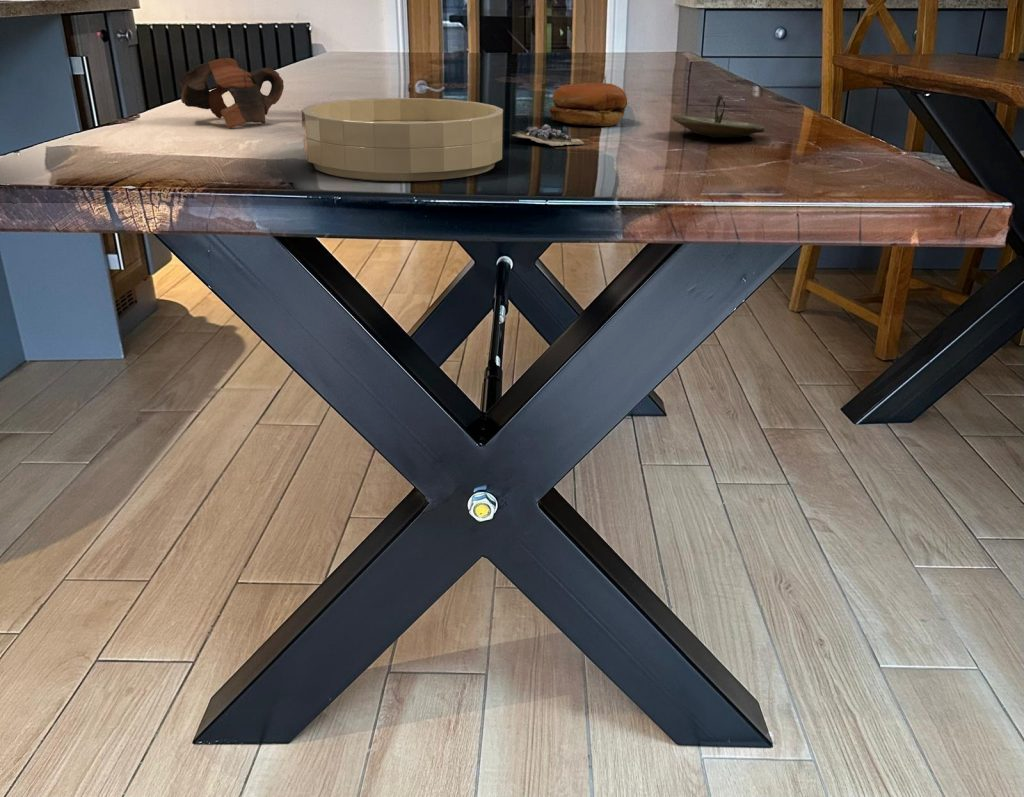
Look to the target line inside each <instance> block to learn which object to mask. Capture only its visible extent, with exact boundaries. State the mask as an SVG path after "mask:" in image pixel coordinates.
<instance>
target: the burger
mask: <svg viewBox="0 0 1024 797" xmlns="http://www.w3.org/2000/svg"><path fill="white" fill-rule="evenodd" d="M551 98H552V103H553V104H554V105H553V106H552V105H551V106H549V114H550V117H551V120H553V121H556V122H558V123H563V124H568V125H573V126H587V127H588V126H589V127H613V126H616V125H617V124H619V122H620V121H621V120H622V119H623V117H624V115H625V111H626V107H628V96H627V94H626V92H625V91H624V89H623V88H622V87H619V86H618V85H616V84H613V83H606V82H580V83H579V84H573V83H571V84H570V83H569V84H564V85H561V86H559V87H557V88H556V89H555V90H554V92H553V93H552V97H551Z"/></svg>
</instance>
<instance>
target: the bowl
mask: <svg viewBox="0 0 1024 797" xmlns="http://www.w3.org/2000/svg"><path fill="white" fill-rule="evenodd" d="M300 112H301V125H302V136H303V137H302V138H303V139H302V140H303V151H304V152H303V153H304V155H303V156H304V157H305V159H306V161H307V162H309V163H311V164H313V167H314V168H315V169H316V170H317V171H319V172H322V173H323V174H327V175H330V176H334V177H340V178H346V179H355V180H361V181H362V180H363V181H364V180H365V181H379V182H428V181H440V180H452V179H460V178H461V179H462V178H466V177H472V176H477V175H480V174H485V173H487V172H489V171H491V170H493V169H494V168H495V166H496V163H497V162H500V161H501V160H503V155H504V109H503V108H501V107H499V106H496V105H492V104H490V103H489V104H488V103H483V102H477V101H468V100H460V99H444V98H427V97H426V98H425V97H424V98H423V97H422V98H421V97H420V98H418V97H385V98H384V97H383V98H382V97H377V98H376V97H375V98H359V99H358V98H357V99H342V100H333V101H325V102H320V103H315V104H311V105H307V106H305V107H304V108H303V109H301V111H300Z"/></svg>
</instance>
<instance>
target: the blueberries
mask: <svg viewBox="0 0 1024 797" xmlns="http://www.w3.org/2000/svg"><path fill="white" fill-rule="evenodd" d="M511 137H517V138H520V139H521V138H522V139H530V140H531V141H534V142H536V143H539V144H545V145H549V146H550V147H551V146H552V147H555V146H564V145H567V146H570V145H571V146H573V145H585V141H583V140H581V139H580V138H572V136H571V135H570V134H568V133H565V132H564V133H563V131H562V130H561V129H555V128H551V126H550V124H544V125H542V127H541V128H539V127H536V126H527V127H526V128H525V130H524V131H521V130H517V131H515V132H514V134H511Z"/></svg>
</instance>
